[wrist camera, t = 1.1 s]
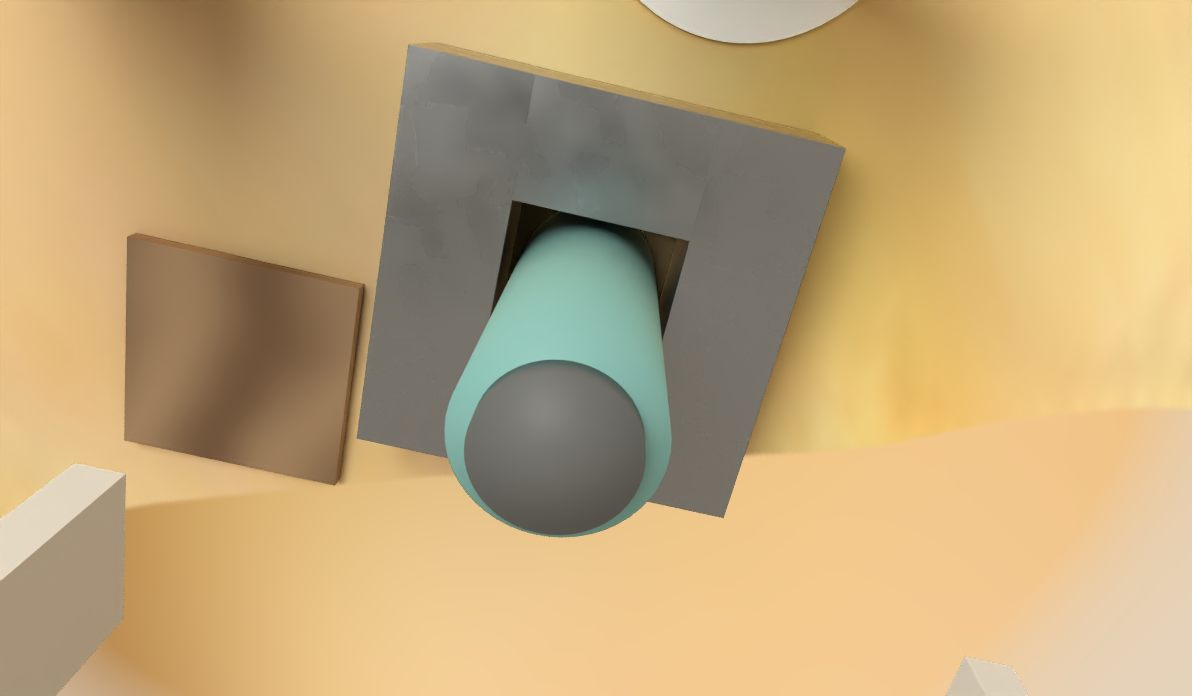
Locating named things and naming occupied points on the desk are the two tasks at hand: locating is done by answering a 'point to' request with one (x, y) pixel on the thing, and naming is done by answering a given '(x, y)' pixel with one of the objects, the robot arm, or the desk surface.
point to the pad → (238, 358)
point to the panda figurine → (747, 17)
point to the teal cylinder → (566, 386)
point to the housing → (604, 192)
